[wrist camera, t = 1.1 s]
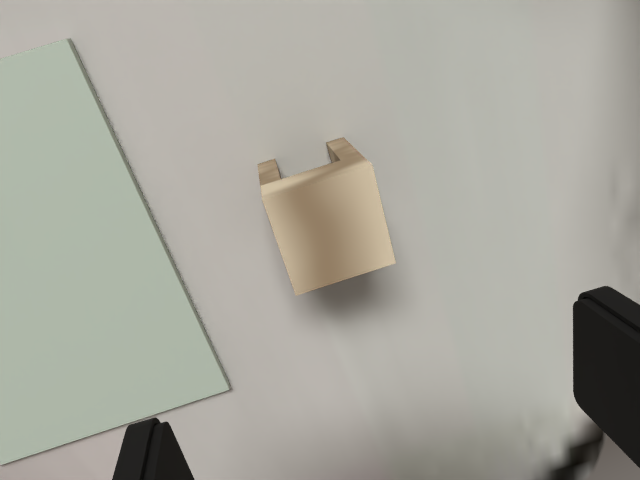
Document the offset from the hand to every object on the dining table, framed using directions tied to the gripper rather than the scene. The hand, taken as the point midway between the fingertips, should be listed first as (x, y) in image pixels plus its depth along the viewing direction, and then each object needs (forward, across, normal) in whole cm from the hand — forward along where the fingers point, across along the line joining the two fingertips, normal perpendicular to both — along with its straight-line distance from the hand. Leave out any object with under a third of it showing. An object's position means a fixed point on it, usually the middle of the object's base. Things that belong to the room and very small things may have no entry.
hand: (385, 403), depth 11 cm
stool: (+18, -1, 0) cm, 18 cm away
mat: (+19, +16, +2) cm, 24 cm away
